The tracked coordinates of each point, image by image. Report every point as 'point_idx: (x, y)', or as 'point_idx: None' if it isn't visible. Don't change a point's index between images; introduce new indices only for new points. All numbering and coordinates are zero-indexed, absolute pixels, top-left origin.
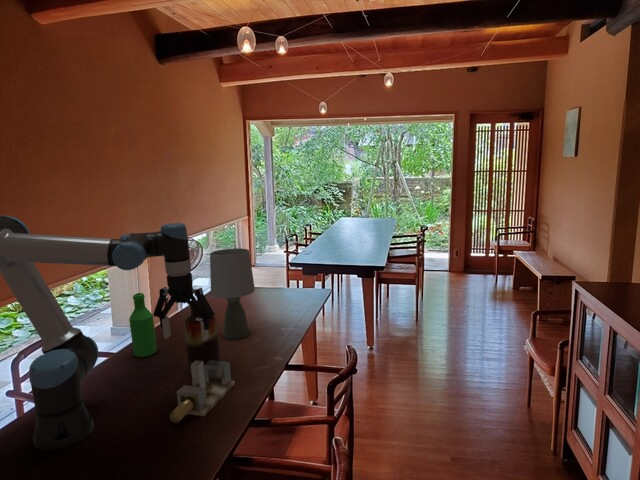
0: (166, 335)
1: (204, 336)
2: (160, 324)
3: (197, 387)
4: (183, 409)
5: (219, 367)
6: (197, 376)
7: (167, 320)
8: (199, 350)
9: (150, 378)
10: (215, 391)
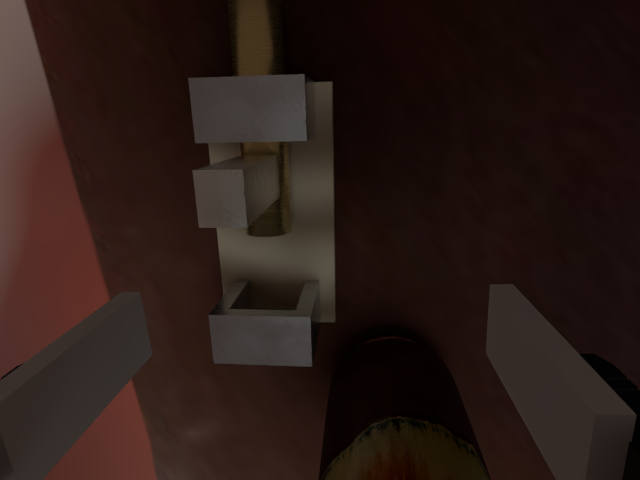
0: (498, 307)
1: (101, 313)
2: (626, 380)
3: (231, 136)
4: (230, 5)
5: (232, 313)
6: (226, 162)
7: (558, 450)
8: (373, 404)
9: (596, 299)
10: (250, 237)
